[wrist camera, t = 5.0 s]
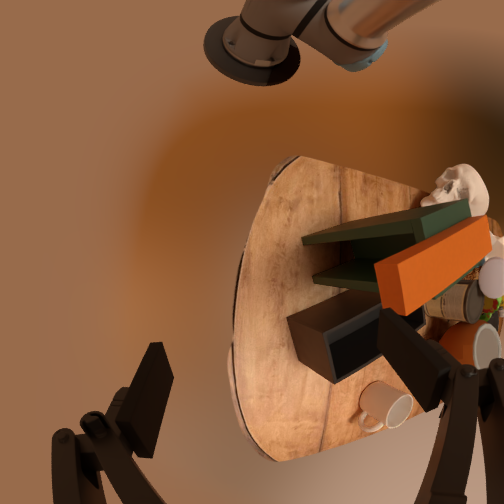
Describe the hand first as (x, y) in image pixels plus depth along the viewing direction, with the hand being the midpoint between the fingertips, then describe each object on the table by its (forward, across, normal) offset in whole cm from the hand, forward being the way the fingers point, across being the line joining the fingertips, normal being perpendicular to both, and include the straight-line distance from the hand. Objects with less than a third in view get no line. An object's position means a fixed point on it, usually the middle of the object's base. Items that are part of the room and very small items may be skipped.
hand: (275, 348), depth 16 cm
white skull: (+46, +44, -4) cm, 64 cm away
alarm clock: (+26, +42, -37) cm, 62 cm away
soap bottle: (+26, +52, -14) cm, 60 cm away
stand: (+38, +16, -6) cm, 41 cm away
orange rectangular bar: (+10, +19, 0) cm, 21 cm away
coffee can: (+42, +46, -24) cm, 66 cm away
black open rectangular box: (+34, +16, -19) cm, 42 cm away
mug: (+31, +22, -42) cm, 56 cm away
